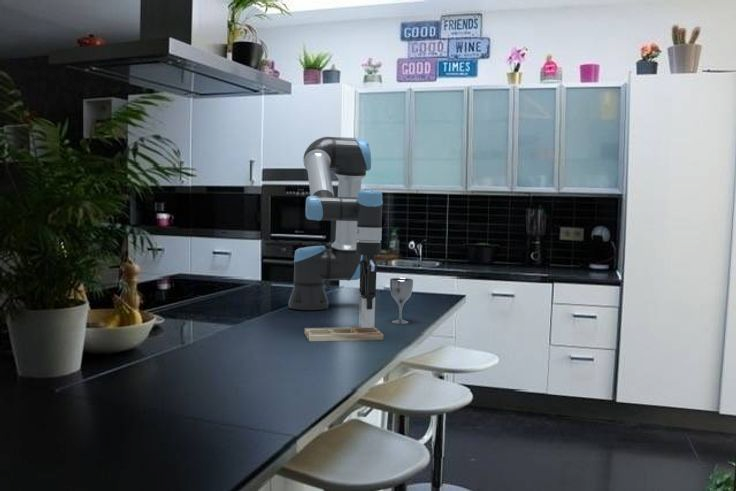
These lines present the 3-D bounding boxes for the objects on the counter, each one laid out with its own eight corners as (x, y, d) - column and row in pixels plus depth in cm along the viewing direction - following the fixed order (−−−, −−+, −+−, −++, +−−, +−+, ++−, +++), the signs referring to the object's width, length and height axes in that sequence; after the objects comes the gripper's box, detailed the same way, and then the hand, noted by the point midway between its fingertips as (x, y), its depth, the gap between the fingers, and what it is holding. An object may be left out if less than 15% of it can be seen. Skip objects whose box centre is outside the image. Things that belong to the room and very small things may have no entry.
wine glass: (414, 321, 217) (415, 278, 216) (408, 325, 210) (409, 281, 209) (392, 319, 220) (393, 277, 219) (385, 323, 212) (387, 279, 211)
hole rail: (304, 333, 191) (304, 327, 191) (374, 332, 196) (374, 326, 196) (309, 341, 180) (309, 335, 180) (383, 340, 184) (383, 333, 184)
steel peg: (358, 325, 191) (359, 296, 190) (371, 325, 192) (372, 296, 191) (361, 327, 187) (362, 297, 186) (374, 327, 188) (375, 297, 187)
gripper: (351, 240, 195) (349, 314, 197) (362, 242, 179) (360, 323, 180) (374, 240, 197) (372, 313, 198) (387, 243, 180) (385, 323, 182)
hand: (366, 318), depth 189 cm, fingers closed on steel peg, 4 cm apart
